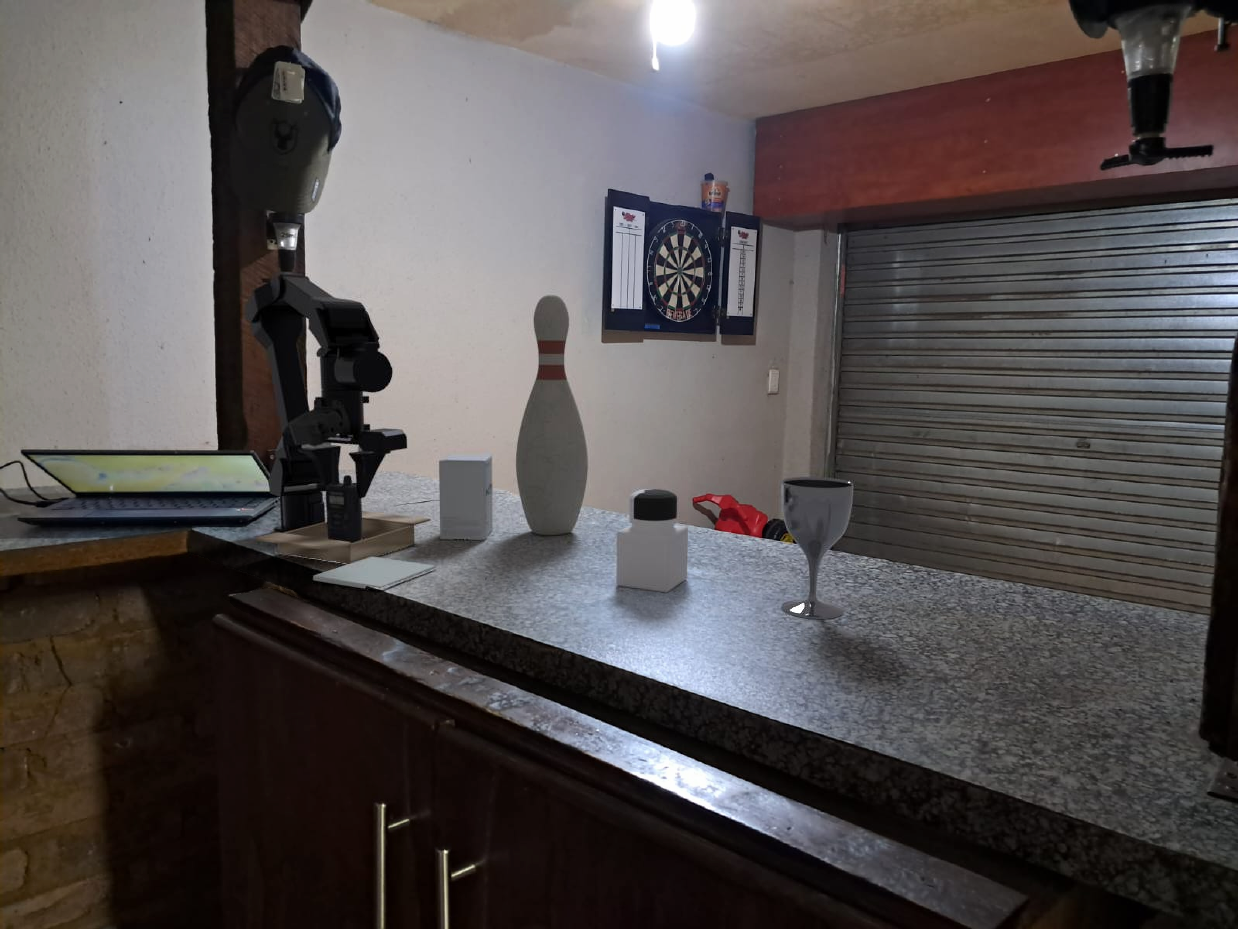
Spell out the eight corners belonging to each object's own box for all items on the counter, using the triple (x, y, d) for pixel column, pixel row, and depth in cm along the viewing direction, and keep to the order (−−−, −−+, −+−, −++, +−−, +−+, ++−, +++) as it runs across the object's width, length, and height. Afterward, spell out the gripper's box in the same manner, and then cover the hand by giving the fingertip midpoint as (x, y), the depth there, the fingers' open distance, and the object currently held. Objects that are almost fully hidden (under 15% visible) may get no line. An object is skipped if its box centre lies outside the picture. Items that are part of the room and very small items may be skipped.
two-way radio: (322, 551, 123) (318, 449, 121) (344, 544, 127) (340, 446, 125) (352, 555, 121) (348, 451, 119) (373, 548, 125) (369, 448, 123)
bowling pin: (534, 543, 129) (533, 291, 124) (506, 528, 139) (504, 295, 134) (598, 535, 135) (599, 294, 129) (567, 522, 145) (567, 297, 139)
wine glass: (807, 624, 92) (813, 490, 90) (763, 604, 99) (767, 479, 97) (862, 614, 96) (868, 485, 94) (815, 595, 103) (821, 475, 101)
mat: (313, 580, 108) (313, 575, 108) (371, 560, 118) (371, 556, 118) (380, 591, 103) (380, 586, 103) (435, 570, 113) (435, 565, 113)
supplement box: (486, 540, 131) (485, 460, 129) (439, 540, 131) (437, 459, 129) (494, 530, 138) (493, 454, 136) (449, 529, 138) (447, 453, 136)
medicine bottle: (687, 579, 110) (689, 489, 108) (667, 593, 104) (669, 497, 102) (637, 572, 113) (638, 484, 111) (615, 586, 107) (616, 493, 105)
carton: (255, 561, 117) (254, 537, 117) (362, 530, 137) (362, 510, 136) (330, 572, 112) (329, 548, 111) (430, 539, 131) (430, 518, 131)
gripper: (249, 390, 117) (255, 499, 120) (353, 394, 110) (357, 511, 112) (309, 386, 127) (313, 488, 130) (408, 390, 120) (411, 498, 122)
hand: (346, 496), depth 123 cm, fingers closed on two-way radio, 5 cm apart
